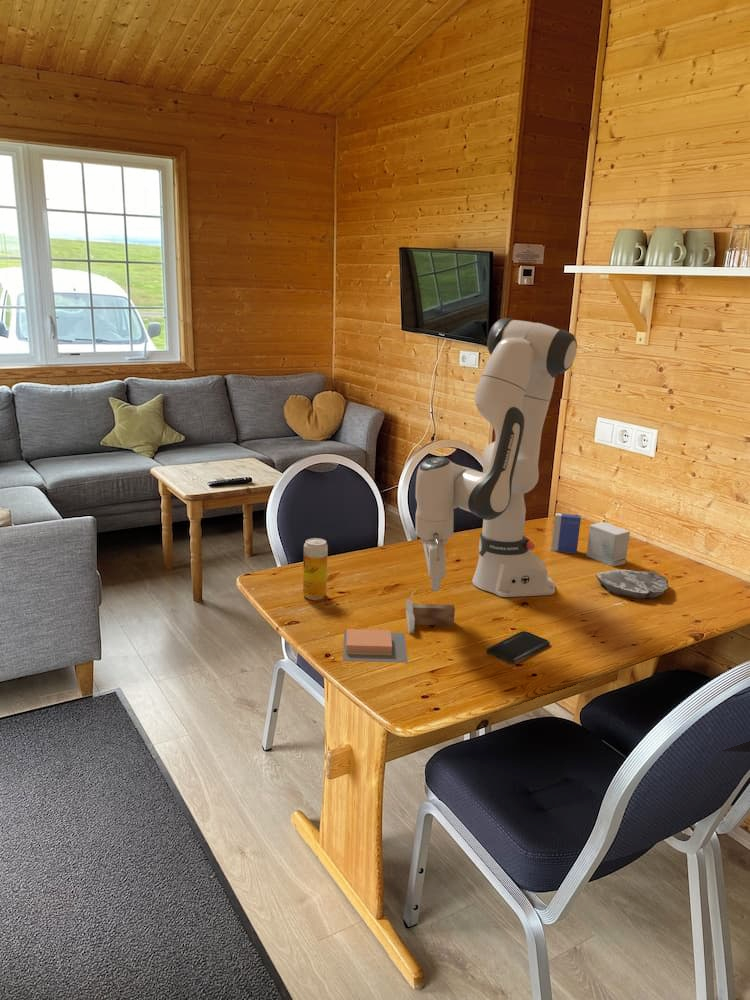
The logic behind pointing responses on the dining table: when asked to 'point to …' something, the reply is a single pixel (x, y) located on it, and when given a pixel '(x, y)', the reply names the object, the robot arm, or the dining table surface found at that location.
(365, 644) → the terracotta tile
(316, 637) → the dining table surface
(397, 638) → the charcoal mat
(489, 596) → the dining table surface
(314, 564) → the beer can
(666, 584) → the grey stone slab
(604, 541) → the skincare box
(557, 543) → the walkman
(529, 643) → the phone
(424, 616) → the walnut scraper
